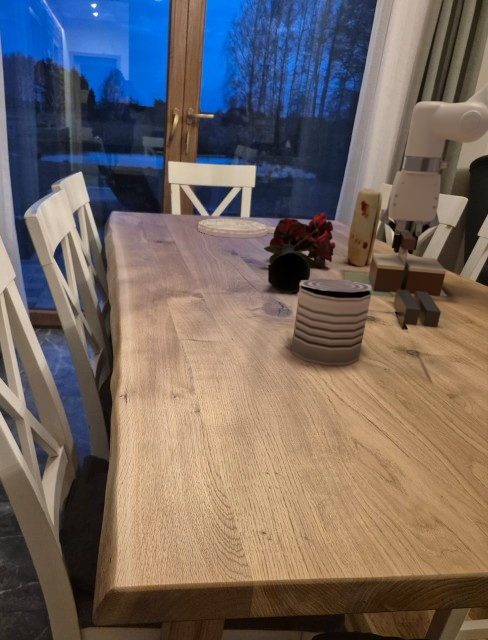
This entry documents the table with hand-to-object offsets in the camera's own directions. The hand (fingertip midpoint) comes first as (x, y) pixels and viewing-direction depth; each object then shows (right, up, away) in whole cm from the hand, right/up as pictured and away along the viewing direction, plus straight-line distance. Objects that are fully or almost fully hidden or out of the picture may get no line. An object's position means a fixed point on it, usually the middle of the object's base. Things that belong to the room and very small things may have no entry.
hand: (402, 251), depth 131 cm
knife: (0, -7, +3) cm, 7 cm away
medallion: (-32, +23, +64) cm, 75 cm away
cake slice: (-3, -7, +4) cm, 8 cm away
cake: (+4, -8, +3) cm, 9 cm away
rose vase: (-22, -3, +11) cm, 25 cm away
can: (-27, -26, -36) cm, 52 cm away
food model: (-3, +2, +25) cm, 25 cm away
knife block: (-4, -18, -17) cm, 25 cm away
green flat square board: (-1, -8, +4) cm, 9 cm away
